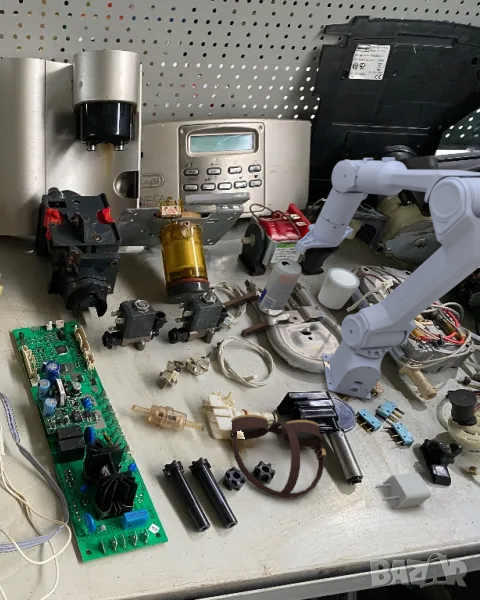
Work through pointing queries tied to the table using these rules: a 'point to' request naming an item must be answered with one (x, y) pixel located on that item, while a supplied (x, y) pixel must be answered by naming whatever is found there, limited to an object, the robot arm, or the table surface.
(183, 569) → the table surface
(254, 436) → the goggles
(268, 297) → the energy drink
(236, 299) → the cradle
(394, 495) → the usb wall charger
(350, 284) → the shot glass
